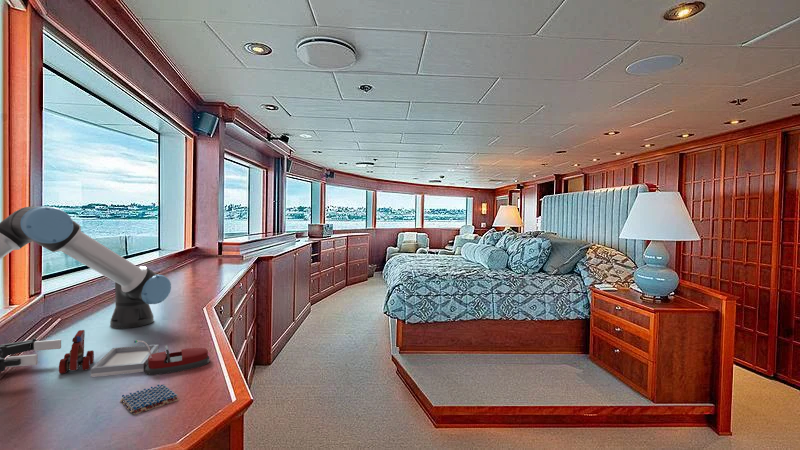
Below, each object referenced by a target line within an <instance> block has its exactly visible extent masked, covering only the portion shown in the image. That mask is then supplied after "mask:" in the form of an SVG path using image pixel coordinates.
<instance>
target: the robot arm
mask: <svg viewBox="0 0 800 450" xmlns="http://www.w3.org/2000/svg"><path fill="white" fill-rule="evenodd" d="M81 229H82V228H81V225H80V224H79V223H78V222H76V221H74V220H73V219H72V218H71V215H69V214H68V213H67V212H65V210H62V209H60V208H58V207H53V206H49V205H46V206H45V205H42V206H41V205H40V206H33V205H32V206H26V207H22V208H19V209H17V210H16V211H14V212H12V213H11V214H9V215H8V216H7V217H6V218H4V219H3V220H2V221H1V222H0V260H2V259H4V257H5V256H7V255H8V254H11V253H12V251H15V250H16V251H17V250H21V249H22V248H23V247H25V246H26V245H27V244H29V243H32V242H33V243H35V244H37V245H38V246H41V247H42V248H44V249H46V250H48V251H50V252H52V253H56V252H61V253H63V254H65V255H67V256H68V257H71V258H72V259H74V260H76V262H79V263H81V264H83V265H85V266H87V267H88V268H90V269H92V270H93V271H96V272H97V273H99V274H101V276H104V277H106V278H108V279H110V280H111V281H113V282H114V284H115V286H114V287H115V289H114V291H115V293H114V294H115V298H114V299H115V307H114V310H113V313H112V316H111V318H110V321H109V323H110V325H109V327H111V328H113V329H130V328H131V329H133V328H138V327H143V326H144V327H145V326H147V325H150V324H152V323H153V322H154V313H153V311H152V309H151V306H150V305H157V304H161V303H162V302H164V301H165V300H166V299H167V298H168V297H169V295H170V294H171V290H172V283H171V280H170V279H169V278H168V277H166V276H165V275H163V274H158V273H156V272H155V271H153V270H151V269H150V268H148V267H146V266H145V265H140V266H137V265H136V264H134V263H132V262H130V261H129V260H128V259H126V258H124V257H122V255H120V254H118V253H116V252H115V251H113V250H112V249H110V248H109V247H107V246H105V245H103V244H102V243H100V242H99V241H97V240H96V239H94V238H92V237H91V236H89V235H88V234H86V233H85V232H83V231H82V230H81ZM61 349H62V338H61V339H60V338H59V339H49V340H48V339H47V340H37V338H32V339H30V340H21V341H16V342H9V343H3V344H0V372H4V371H6V368H15V367H16V368H18V367H27V366H36V365H38V354H25V355H24V354H23V355H16V354H21V353H26V352H29V351H33V352H34V351H35V352H37V351H39V352H40V351H48V350H61ZM11 355H13V356H11ZM14 355H15V356H14Z"/></svg>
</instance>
